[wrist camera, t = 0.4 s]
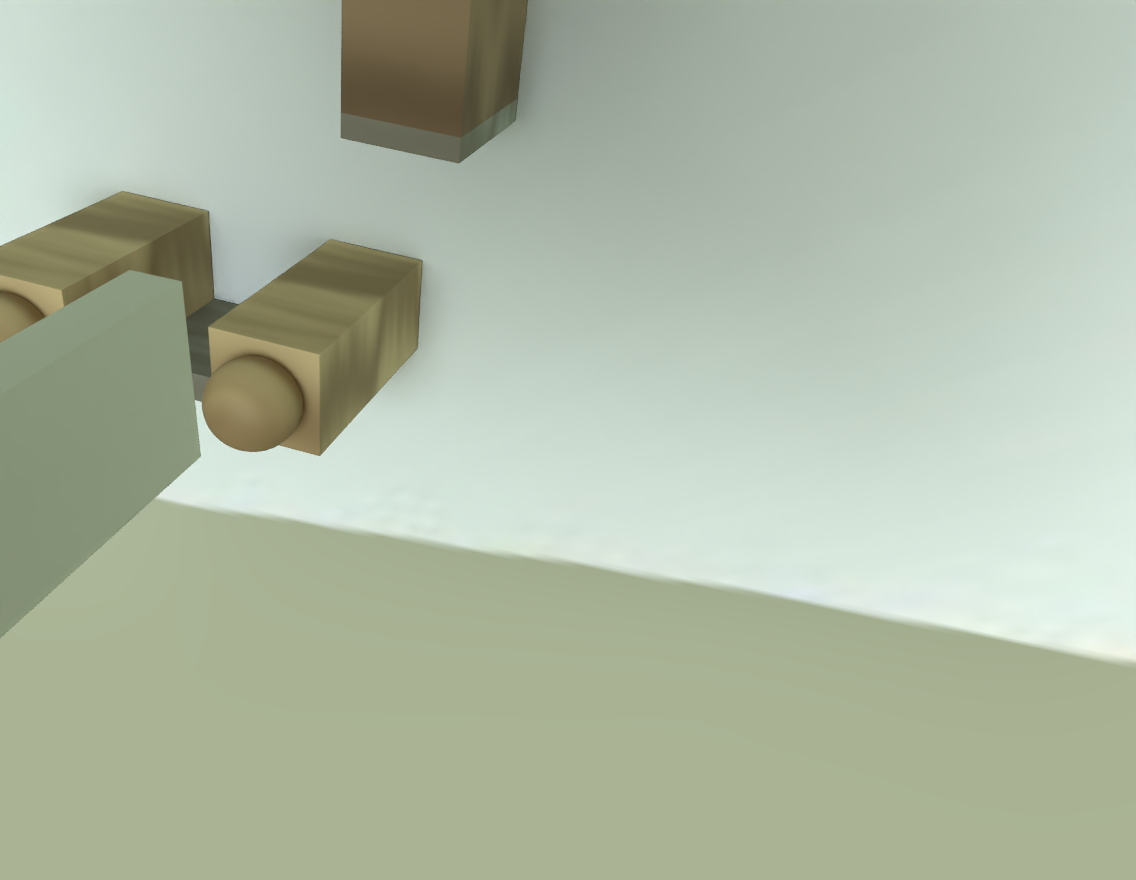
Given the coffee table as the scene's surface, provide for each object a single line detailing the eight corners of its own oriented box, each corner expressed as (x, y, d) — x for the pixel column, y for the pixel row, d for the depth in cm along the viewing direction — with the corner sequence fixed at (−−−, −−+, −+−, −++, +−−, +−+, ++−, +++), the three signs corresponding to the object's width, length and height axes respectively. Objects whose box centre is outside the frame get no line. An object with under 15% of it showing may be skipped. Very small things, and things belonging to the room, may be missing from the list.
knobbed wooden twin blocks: (122, 191, 41) (-98, 289, 32) (422, 260, 39) (283, 387, 30) (135, 303, 44) (-64, 424, 35) (415, 373, 42) (286, 522, 33)
